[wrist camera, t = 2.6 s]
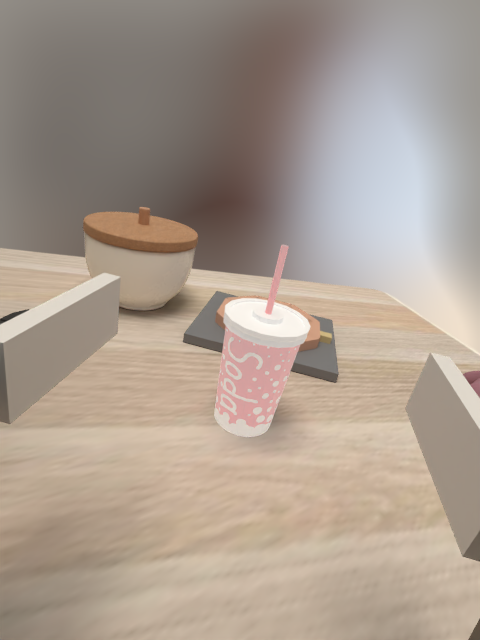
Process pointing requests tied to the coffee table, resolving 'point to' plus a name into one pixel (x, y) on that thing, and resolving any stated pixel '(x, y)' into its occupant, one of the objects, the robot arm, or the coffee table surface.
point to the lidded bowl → (140, 255)
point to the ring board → (312, 354)
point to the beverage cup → (257, 359)
